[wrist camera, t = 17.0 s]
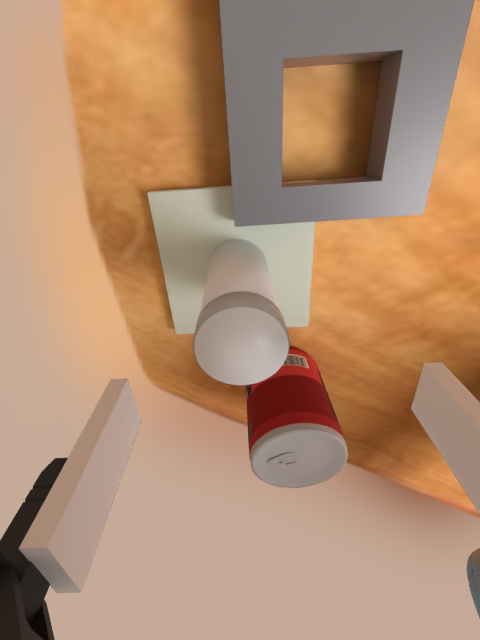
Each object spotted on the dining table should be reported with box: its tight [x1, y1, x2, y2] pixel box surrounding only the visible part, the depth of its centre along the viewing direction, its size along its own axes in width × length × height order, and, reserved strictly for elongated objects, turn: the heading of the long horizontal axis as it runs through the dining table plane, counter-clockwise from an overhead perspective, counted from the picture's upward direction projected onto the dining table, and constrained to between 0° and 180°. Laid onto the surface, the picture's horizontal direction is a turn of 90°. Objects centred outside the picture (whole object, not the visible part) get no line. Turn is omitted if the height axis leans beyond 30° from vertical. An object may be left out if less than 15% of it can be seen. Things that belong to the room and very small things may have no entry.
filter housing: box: [219, 0, 474, 227], centre depth 18 cm, size 22×14×3 cm, turn 3°
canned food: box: [246, 347, 348, 488], centre depth 29 cm, size 8×8×11 cm
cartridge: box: [193, 239, 290, 385], centre depth 21 cm, size 5×5×12 cm
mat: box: [147, 180, 316, 335], centre depth 27 cm, size 13×13×1 cm
